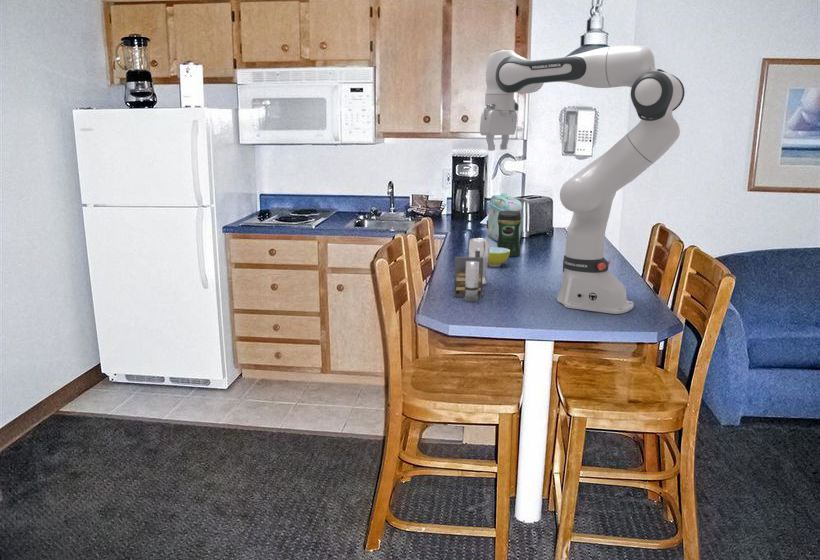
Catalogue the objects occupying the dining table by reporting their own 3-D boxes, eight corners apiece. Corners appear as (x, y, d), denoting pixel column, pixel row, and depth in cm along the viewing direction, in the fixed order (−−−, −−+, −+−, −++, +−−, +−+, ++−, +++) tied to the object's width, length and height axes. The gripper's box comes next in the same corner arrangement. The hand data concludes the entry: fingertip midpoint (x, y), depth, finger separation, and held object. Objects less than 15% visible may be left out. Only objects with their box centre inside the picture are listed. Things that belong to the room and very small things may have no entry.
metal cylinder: (480, 299, 200) (481, 261, 198) (473, 302, 197) (474, 264, 194) (469, 297, 203) (470, 260, 200) (462, 300, 200) (463, 262, 197)
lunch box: (483, 235, 315) (485, 191, 310) (504, 235, 317) (506, 191, 312) (501, 245, 289) (503, 197, 284) (523, 245, 291) (525, 197, 286)
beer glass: (472, 286, 217) (473, 242, 214) (464, 281, 224) (466, 238, 220) (491, 285, 219) (493, 241, 215) (483, 280, 226) (485, 237, 222)
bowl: (475, 266, 246) (475, 250, 245) (486, 261, 256) (486, 246, 255) (503, 270, 241) (504, 253, 240) (513, 264, 251) (514, 248, 250)
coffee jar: (520, 254, 271) (522, 209, 267) (518, 257, 264) (521, 212, 259) (497, 252, 273) (499, 208, 269) (494, 256, 266) (496, 211, 262)
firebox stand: (482, 297, 203) (483, 263, 200) (453, 296, 204) (454, 262, 201) (481, 290, 212) (483, 257, 209) (454, 289, 212) (455, 256, 210)
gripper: (494, 103, 192) (493, 151, 195) (520, 105, 209) (519, 149, 212) (475, 104, 195) (474, 150, 198) (502, 105, 212) (501, 148, 215)
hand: (497, 150), depth 205 cm, fingers open, 8 cm apart
